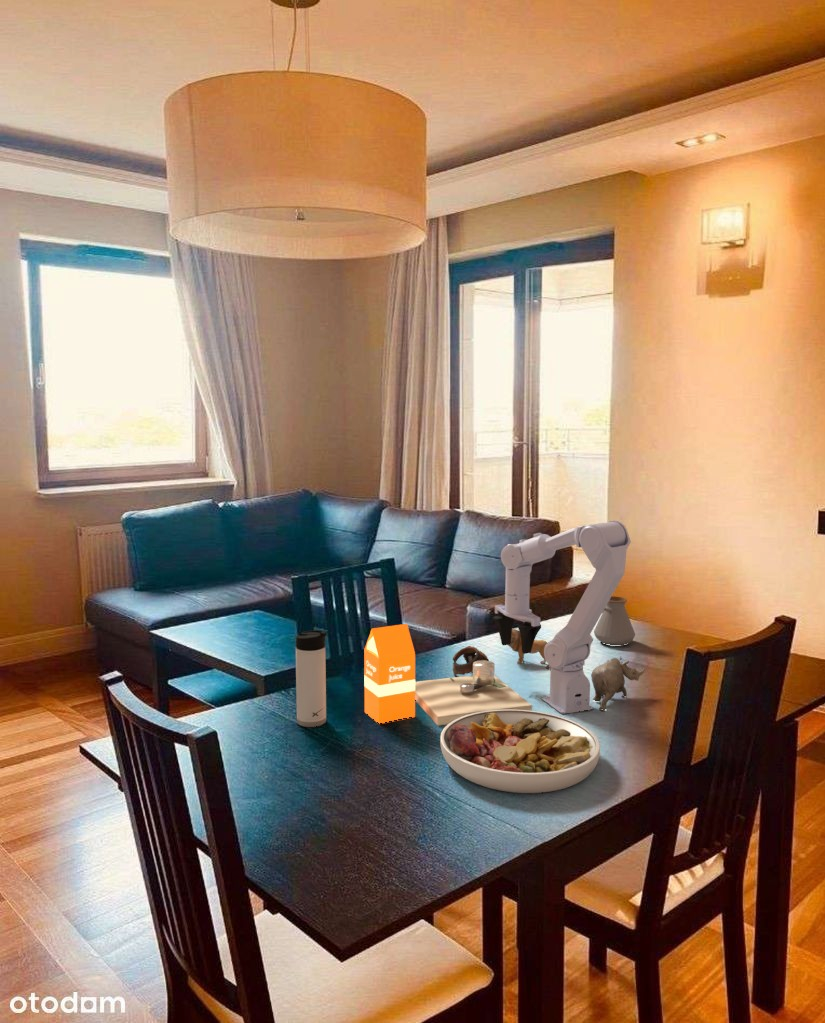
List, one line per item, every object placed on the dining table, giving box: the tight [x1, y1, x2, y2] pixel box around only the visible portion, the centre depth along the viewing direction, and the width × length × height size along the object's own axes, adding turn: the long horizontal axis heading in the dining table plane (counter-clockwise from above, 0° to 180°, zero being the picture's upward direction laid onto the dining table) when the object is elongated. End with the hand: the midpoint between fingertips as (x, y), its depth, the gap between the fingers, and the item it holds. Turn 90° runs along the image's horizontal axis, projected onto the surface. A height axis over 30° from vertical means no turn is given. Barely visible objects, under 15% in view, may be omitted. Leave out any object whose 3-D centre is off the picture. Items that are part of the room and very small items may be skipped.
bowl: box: [439, 709, 601, 794], centre depth 154 cm, size 30×30×8 cm
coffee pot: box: [593, 595, 636, 645], centre depth 227 cm, size 21×12×15 cm, turn 137°
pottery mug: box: [452, 645, 490, 677], centre depth 205 cm, size 12×10×8 cm
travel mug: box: [295, 629, 328, 728], centre depth 172 cm, size 6×7×20 cm
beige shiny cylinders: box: [460, 660, 495, 694], centre depth 187 cm, size 11×5×5 cm, turn 132°
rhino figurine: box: [590, 656, 646, 710], centre depth 187 cm, size 8×14×15 cm
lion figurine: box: [507, 628, 551, 669], centre depth 212 cm, size 15×5×9 cm, turn 71°
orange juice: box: [363, 623, 416, 725], centre depth 177 cm, size 8×9×20 cm
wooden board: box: [415, 674, 533, 726], centre depth 186 cm, size 22×22×2 cm
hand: (516, 648), depth 195 cm, fingers open, 7 cm apart
